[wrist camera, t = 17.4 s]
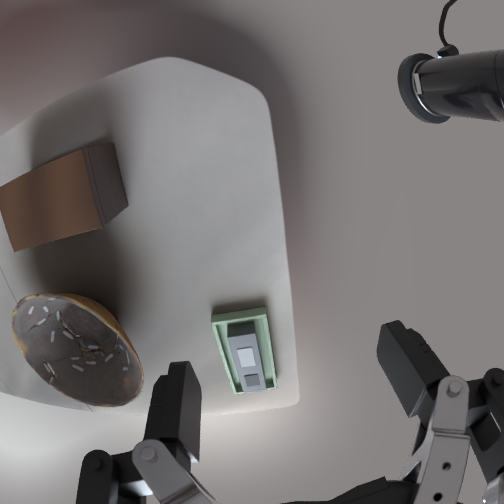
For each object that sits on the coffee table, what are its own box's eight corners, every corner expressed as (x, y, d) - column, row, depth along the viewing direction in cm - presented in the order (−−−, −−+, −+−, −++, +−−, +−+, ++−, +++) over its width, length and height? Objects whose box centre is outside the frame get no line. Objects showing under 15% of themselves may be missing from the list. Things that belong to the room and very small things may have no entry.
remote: (227, 325, 44) (227, 338, 41) (254, 321, 44) (255, 333, 41) (242, 381, 50) (243, 394, 47) (265, 378, 50) (266, 390, 47)
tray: (211, 314, 43) (210, 322, 42) (264, 306, 43) (266, 314, 42) (233, 387, 51) (234, 394, 50) (276, 380, 52) (277, 388, 50)
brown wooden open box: (114, 142, 31) (82, 148, 23) (128, 205, 35) (102, 228, 27) (31, 175, 31) (-6, 190, 23) (46, 229, 35) (14, 252, 27)
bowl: (98, 381, 49) (85, 415, 40) (20, 298, 40) (-6, 328, 30) (184, 347, 46) (177, 390, 37) (90, 234, 36) (58, 264, 27)
